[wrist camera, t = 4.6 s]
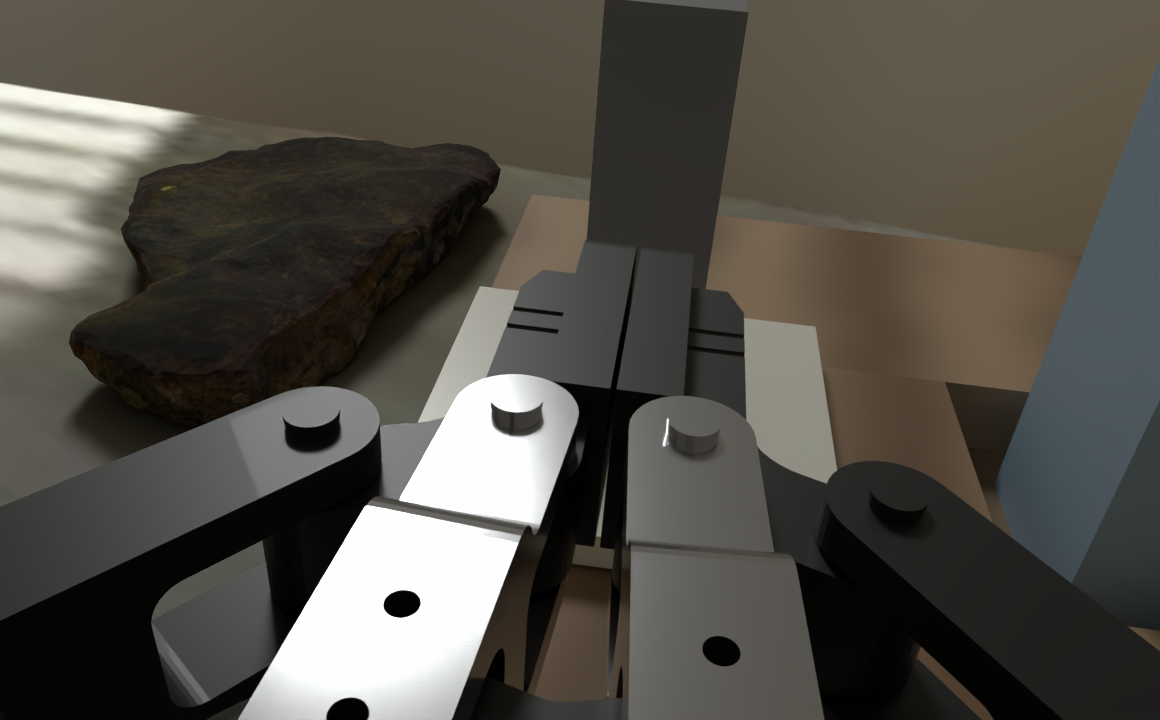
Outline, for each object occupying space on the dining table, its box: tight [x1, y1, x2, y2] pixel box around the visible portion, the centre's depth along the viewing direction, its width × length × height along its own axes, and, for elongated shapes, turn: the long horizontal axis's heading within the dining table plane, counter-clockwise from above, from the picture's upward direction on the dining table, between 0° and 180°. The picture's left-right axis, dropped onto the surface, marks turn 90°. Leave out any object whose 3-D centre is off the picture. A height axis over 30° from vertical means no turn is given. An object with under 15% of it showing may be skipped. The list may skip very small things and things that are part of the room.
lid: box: [418, 0, 837, 569], centre depth 20 cm, size 9×9×10 cm
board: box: [492, 195, 1160, 720], centre depth 24 cm, size 21×23×2 cm
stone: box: [69, 137, 501, 428], centre depth 33 cm, size 18×11×3 cm, turn 162°
